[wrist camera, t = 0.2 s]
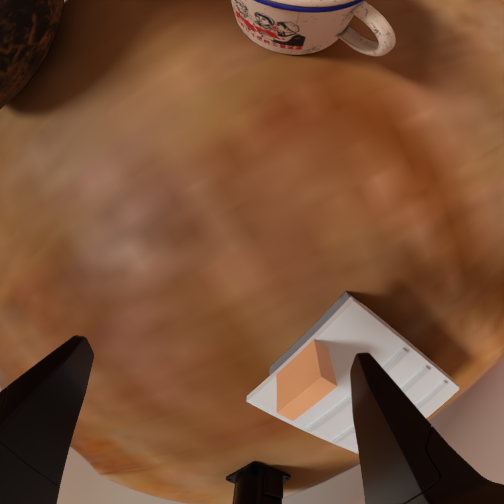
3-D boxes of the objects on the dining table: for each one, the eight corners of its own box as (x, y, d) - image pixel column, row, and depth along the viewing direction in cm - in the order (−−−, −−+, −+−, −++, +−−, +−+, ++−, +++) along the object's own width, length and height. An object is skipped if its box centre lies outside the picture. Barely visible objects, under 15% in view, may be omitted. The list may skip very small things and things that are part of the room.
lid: (368, 450, 26) (377, 487, 21) (246, 391, 24) (241, 438, 19) (455, 380, 23) (477, 416, 18) (348, 292, 20) (368, 332, 15)
